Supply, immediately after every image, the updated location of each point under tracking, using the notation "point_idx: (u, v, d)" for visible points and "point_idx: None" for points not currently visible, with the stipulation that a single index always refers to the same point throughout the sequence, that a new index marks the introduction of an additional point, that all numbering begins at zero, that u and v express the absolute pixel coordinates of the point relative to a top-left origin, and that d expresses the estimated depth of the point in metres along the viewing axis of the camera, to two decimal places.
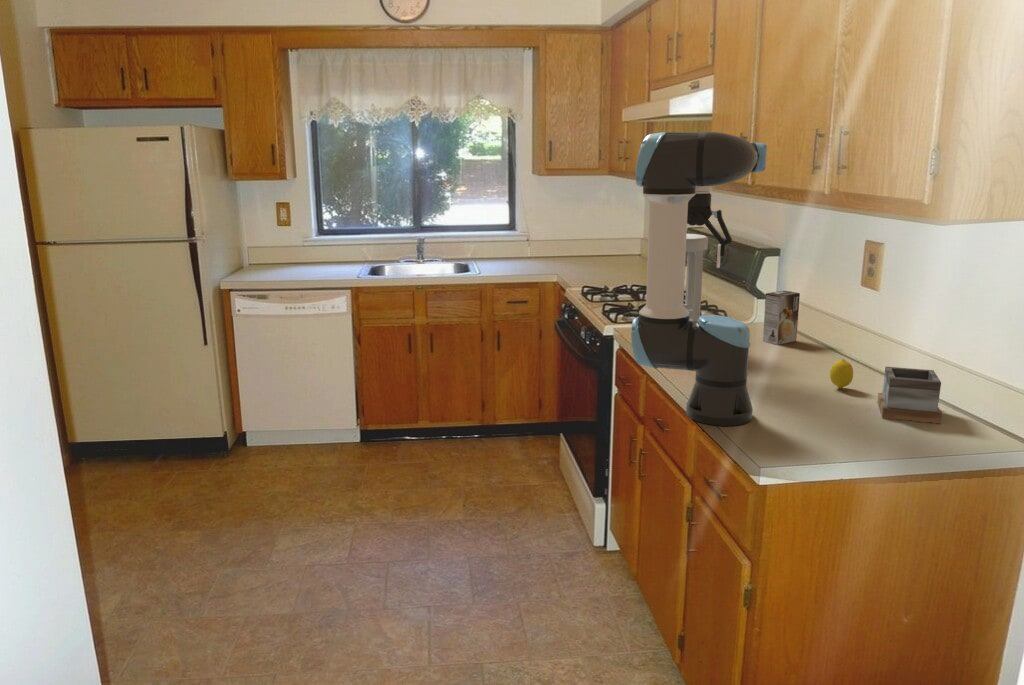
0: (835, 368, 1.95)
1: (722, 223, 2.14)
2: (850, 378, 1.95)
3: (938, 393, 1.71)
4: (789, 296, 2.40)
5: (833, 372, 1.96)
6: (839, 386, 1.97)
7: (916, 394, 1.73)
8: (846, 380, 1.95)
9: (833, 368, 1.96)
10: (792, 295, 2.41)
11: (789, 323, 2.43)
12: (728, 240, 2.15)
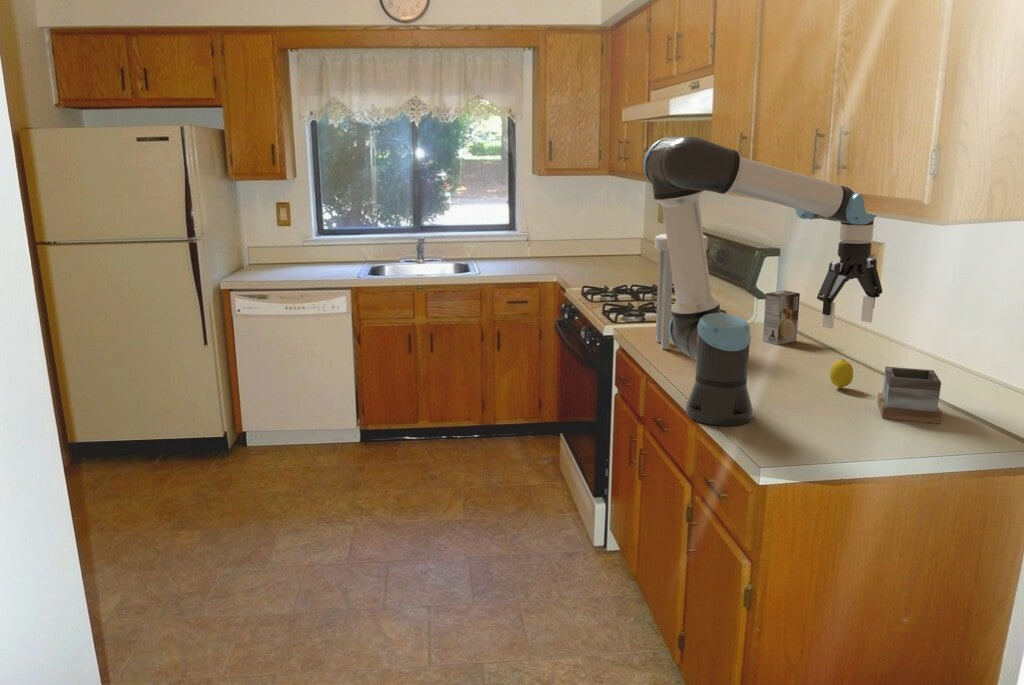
0: (835, 368, 1.95)
1: (876, 273, 1.92)
2: (850, 378, 1.95)
3: (938, 393, 1.71)
4: (789, 296, 2.40)
5: (833, 372, 1.96)
6: (839, 386, 1.97)
7: (916, 394, 1.73)
8: (846, 380, 1.95)
9: (833, 368, 1.96)
10: (792, 295, 2.41)
11: (789, 323, 2.43)
12: (880, 291, 1.94)
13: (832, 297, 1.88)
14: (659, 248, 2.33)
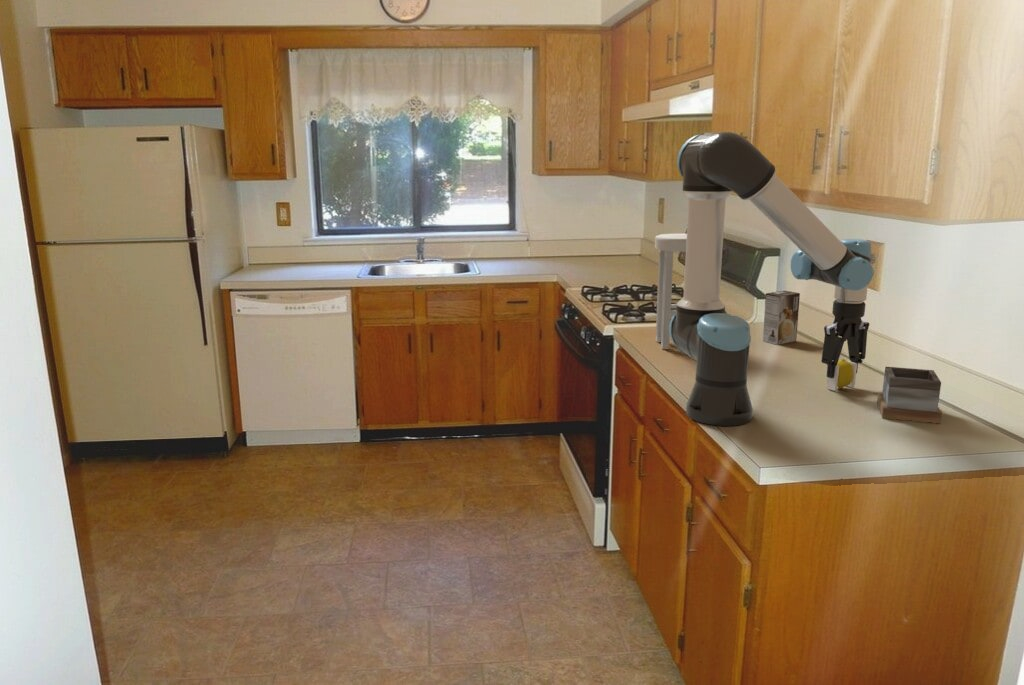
0: None
1: (865, 337, 1.96)
2: (850, 378, 1.95)
3: (938, 393, 1.71)
4: (789, 296, 2.40)
5: None
6: (839, 386, 1.97)
7: (916, 394, 1.73)
8: (846, 380, 1.95)
9: None
10: (792, 295, 2.41)
11: (789, 323, 2.43)
12: (863, 356, 1.97)
13: (835, 361, 1.93)
14: (659, 248, 2.33)
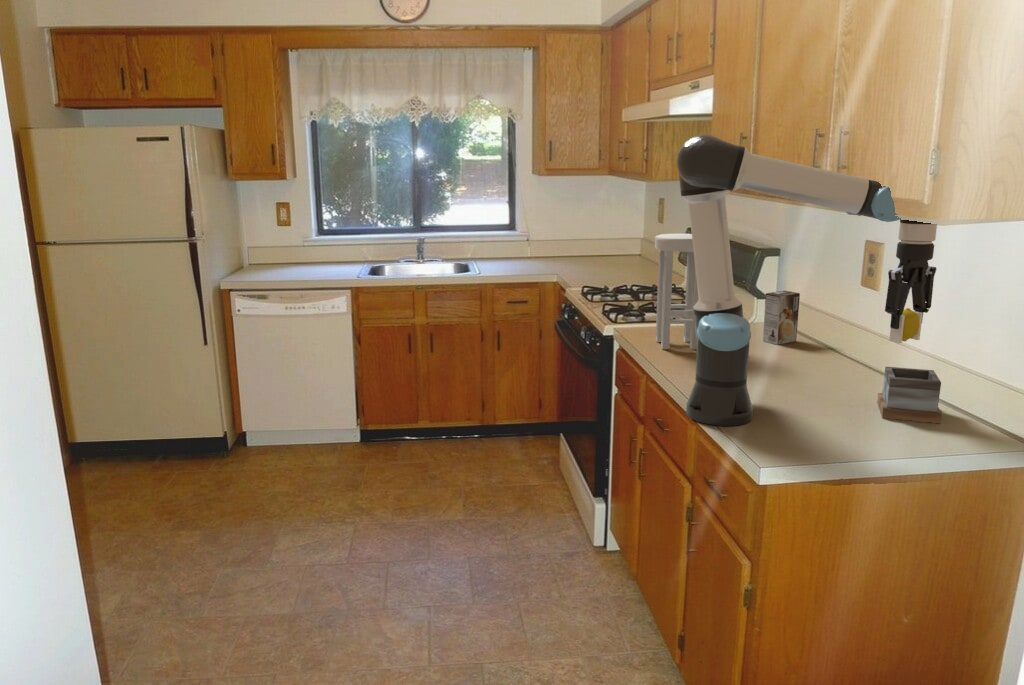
0: None
1: (932, 283, 1.77)
2: (917, 329, 1.75)
3: (938, 393, 1.71)
4: (789, 296, 2.40)
5: None
6: (903, 338, 1.77)
7: (916, 394, 1.73)
8: (912, 331, 1.75)
9: None
10: (792, 295, 2.41)
11: (789, 323, 2.43)
12: (929, 305, 1.78)
13: (901, 309, 1.74)
14: (659, 248, 2.33)
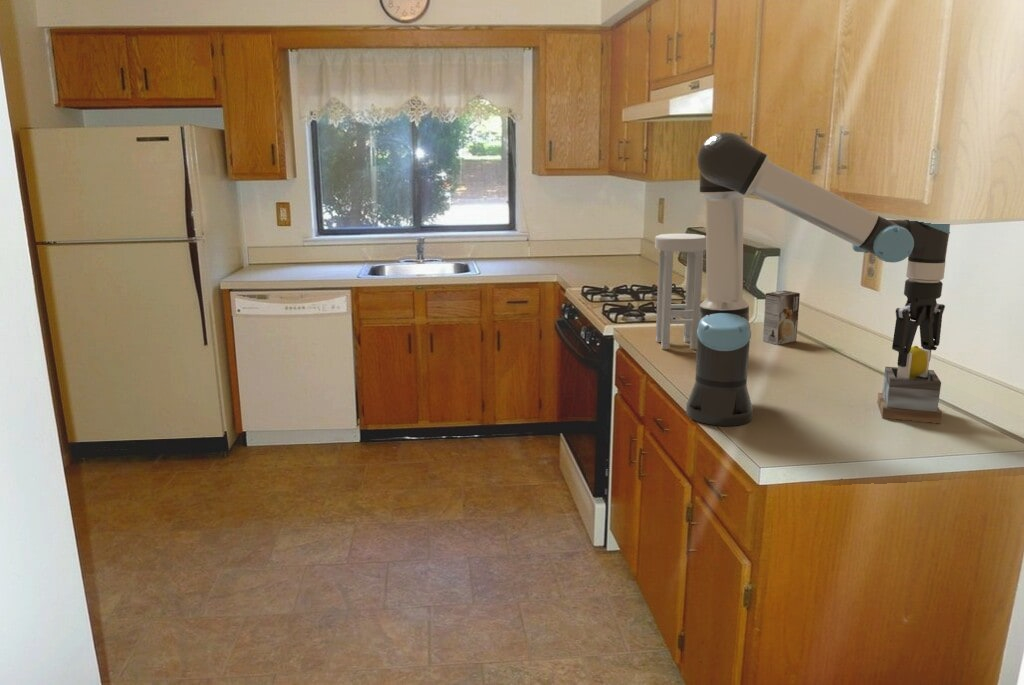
0: None
1: (940, 321, 1.75)
2: (925, 367, 1.74)
3: (938, 393, 1.71)
4: (789, 296, 2.40)
5: None
6: (911, 376, 1.76)
7: (916, 394, 1.73)
8: (920, 369, 1.74)
9: None
10: (792, 295, 2.41)
11: (789, 323, 2.43)
12: (937, 342, 1.77)
13: (908, 347, 1.73)
14: (659, 248, 2.33)
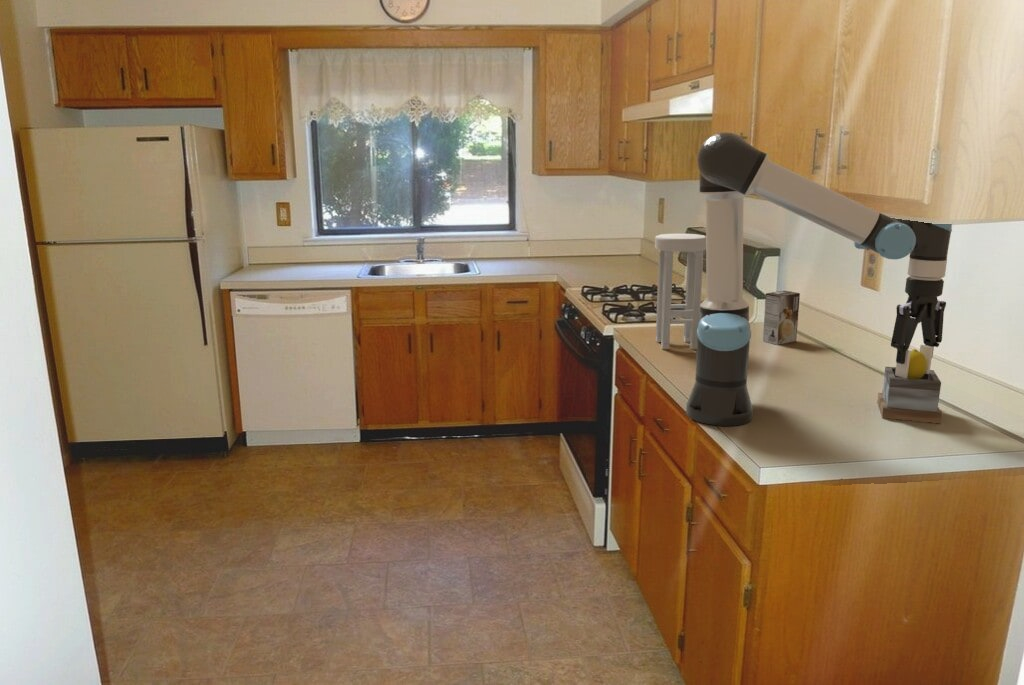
0: None
1: (942, 318, 1.75)
2: (924, 370, 1.75)
3: (938, 393, 1.71)
4: (789, 296, 2.40)
5: None
6: None
7: (916, 394, 1.73)
8: (919, 373, 1.74)
9: None
10: (792, 295, 2.41)
11: (789, 323, 2.43)
12: (939, 339, 1.77)
13: (907, 344, 1.72)
14: (659, 248, 2.33)
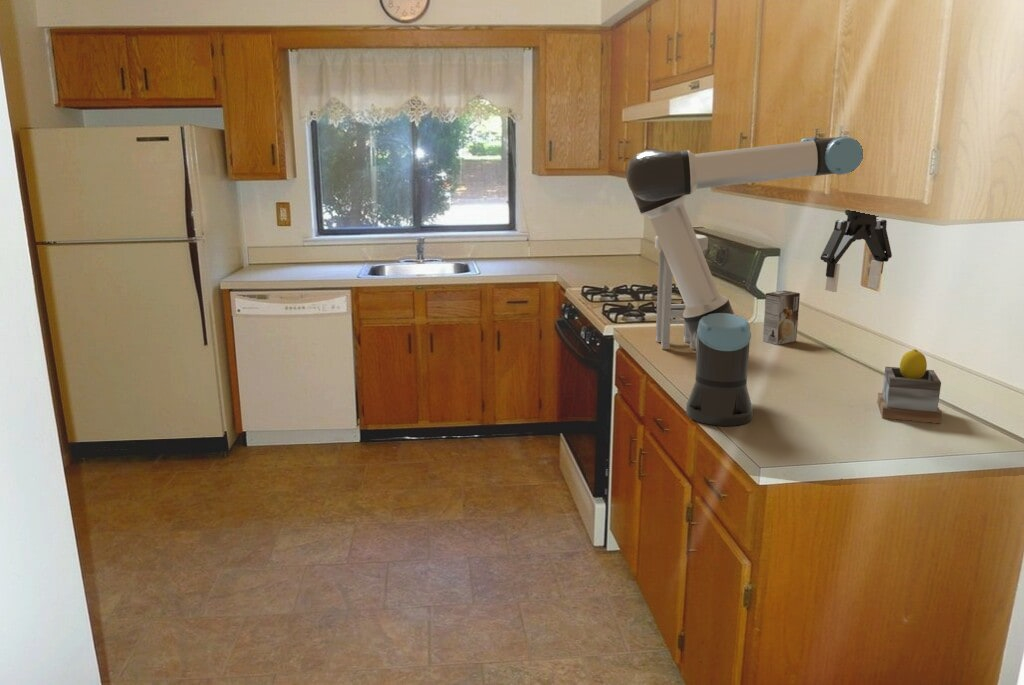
0: (906, 359, 1.75)
1: (886, 235, 1.79)
2: (924, 370, 1.75)
3: (938, 393, 1.71)
4: (789, 296, 2.40)
5: (904, 364, 1.76)
6: None
7: (916, 394, 1.73)
8: (919, 373, 1.74)
9: (904, 359, 1.76)
10: (792, 295, 2.41)
11: (789, 323, 2.43)
12: (889, 255, 1.81)
13: (837, 258, 1.74)
14: (659, 248, 2.33)
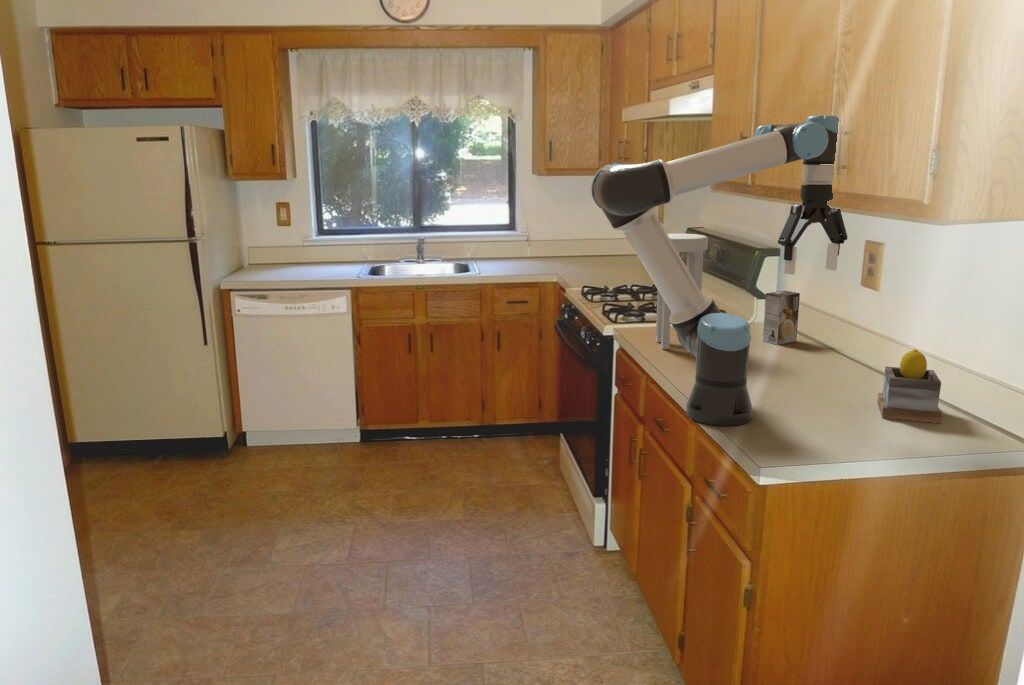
0: (906, 359, 1.75)
1: (841, 218, 1.84)
2: (924, 370, 1.75)
3: (938, 393, 1.71)
4: (789, 296, 2.40)
5: (904, 364, 1.76)
6: None
7: (916, 394, 1.73)
8: (919, 373, 1.74)
9: (904, 359, 1.76)
10: (792, 295, 2.41)
11: (789, 323, 2.43)
12: (845, 237, 1.86)
13: (793, 241, 1.79)
14: None
